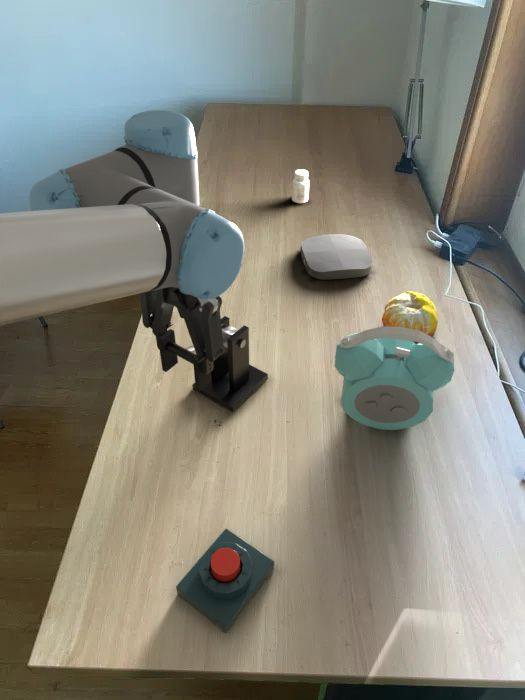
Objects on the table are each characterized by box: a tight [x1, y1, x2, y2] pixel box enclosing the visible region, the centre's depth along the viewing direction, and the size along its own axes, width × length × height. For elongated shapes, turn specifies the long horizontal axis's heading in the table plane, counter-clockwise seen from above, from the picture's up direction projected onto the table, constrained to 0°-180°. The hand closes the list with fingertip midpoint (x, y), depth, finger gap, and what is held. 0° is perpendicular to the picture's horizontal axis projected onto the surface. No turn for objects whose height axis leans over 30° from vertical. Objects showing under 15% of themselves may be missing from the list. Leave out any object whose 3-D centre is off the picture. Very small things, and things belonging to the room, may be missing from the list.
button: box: [211, 548, 240, 582], centre depth 70 cm, size 4×4×2 cm
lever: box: [166, 325, 239, 365], centre depth 87 cm, size 13×6×2 cm, turn 144°
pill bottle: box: [291, 168, 310, 204], centre depth 147 cm, size 4×4×8 cm
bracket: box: [192, 315, 269, 413], centre depth 94 cm, size 10×9×13 cm
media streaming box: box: [300, 233, 373, 280], centre depth 127 cm, size 15×15×3 cm
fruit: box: [381, 291, 439, 344], centre depth 109 cm, size 11×10×8 cm
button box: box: [175, 527, 275, 634], centre depth 71 cm, size 10×8×4 cm
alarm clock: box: [334, 325, 455, 431], centre depth 87 cm, size 17×10×20 cm, turn 80°
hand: (186, 375), depth 86 cm, fingers closed on lever, 6 cm apart
